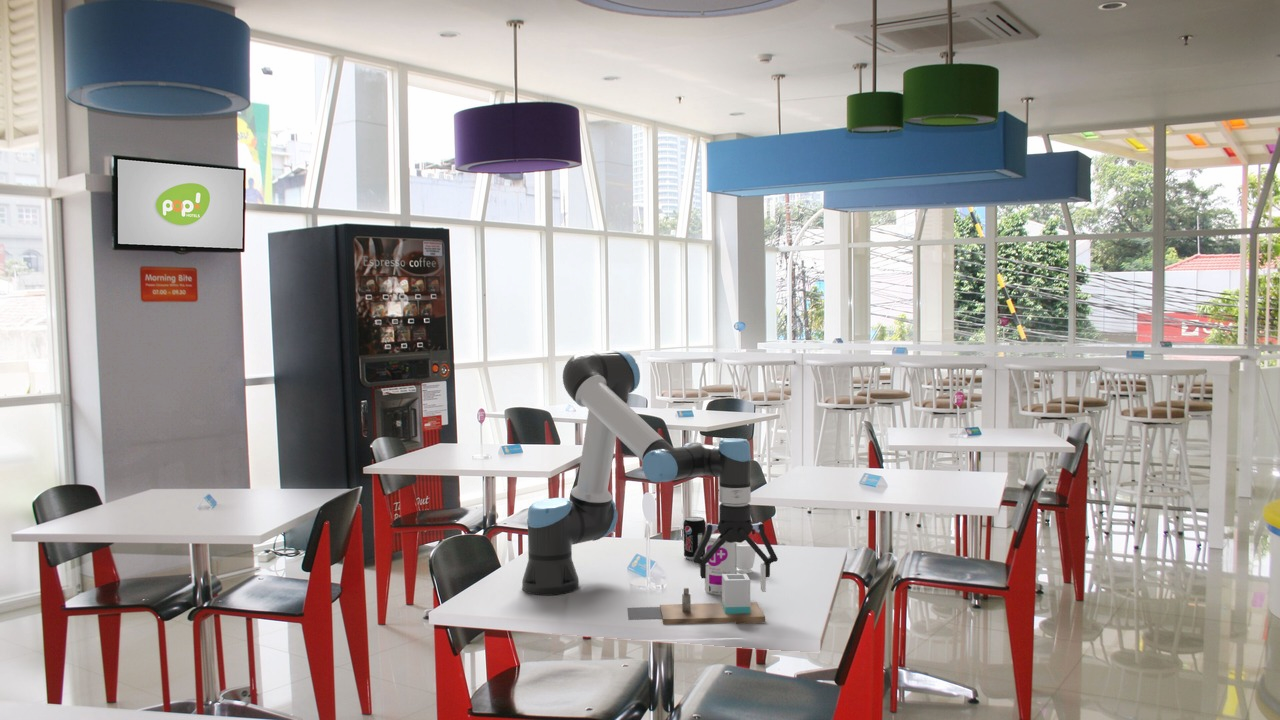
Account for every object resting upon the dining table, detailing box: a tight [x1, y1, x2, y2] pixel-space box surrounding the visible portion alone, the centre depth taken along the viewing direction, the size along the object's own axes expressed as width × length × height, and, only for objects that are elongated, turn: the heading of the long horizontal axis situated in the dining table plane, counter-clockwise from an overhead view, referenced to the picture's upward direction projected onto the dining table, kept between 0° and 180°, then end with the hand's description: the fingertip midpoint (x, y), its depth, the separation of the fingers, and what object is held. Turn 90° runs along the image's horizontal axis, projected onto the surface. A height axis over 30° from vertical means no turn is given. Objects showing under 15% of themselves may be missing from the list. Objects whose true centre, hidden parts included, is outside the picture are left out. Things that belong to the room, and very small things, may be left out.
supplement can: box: [705, 532, 738, 596], centre depth 257 cm, size 8×8×15 cm
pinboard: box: [659, 587, 766, 625], centre depth 236 cm, size 24×12×7 cm, turn 92°
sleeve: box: [721, 573, 751, 614], centre depth 236 cm, size 6×6×8 cm
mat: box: [626, 606, 662, 621], centre depth 238 cm, size 10×10×1 cm
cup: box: [736, 540, 758, 574], centre depth 280 cm, size 7×10×8 cm
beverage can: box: [683, 516, 707, 561], centre depth 296 cm, size 7×7×12 cm
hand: (735, 591), depth 236 cm, fingers open, 13 cm apart
